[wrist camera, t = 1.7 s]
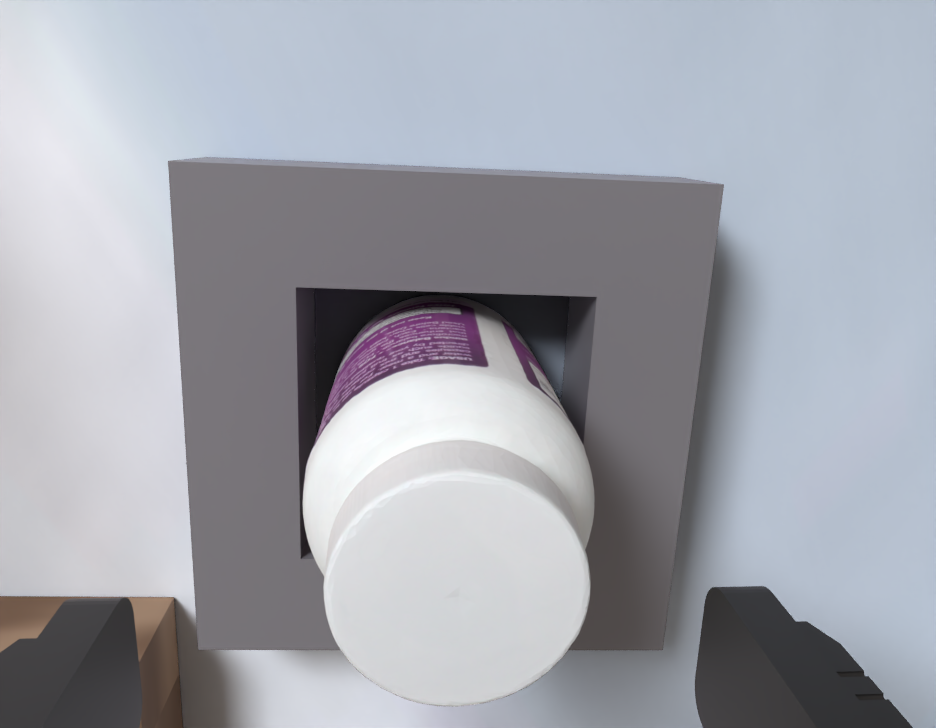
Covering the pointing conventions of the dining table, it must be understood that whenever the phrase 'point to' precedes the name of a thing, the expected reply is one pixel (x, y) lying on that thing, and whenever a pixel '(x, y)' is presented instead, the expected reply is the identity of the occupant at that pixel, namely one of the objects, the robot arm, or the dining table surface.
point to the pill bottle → (448, 506)
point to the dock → (155, 643)
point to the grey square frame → (432, 270)
